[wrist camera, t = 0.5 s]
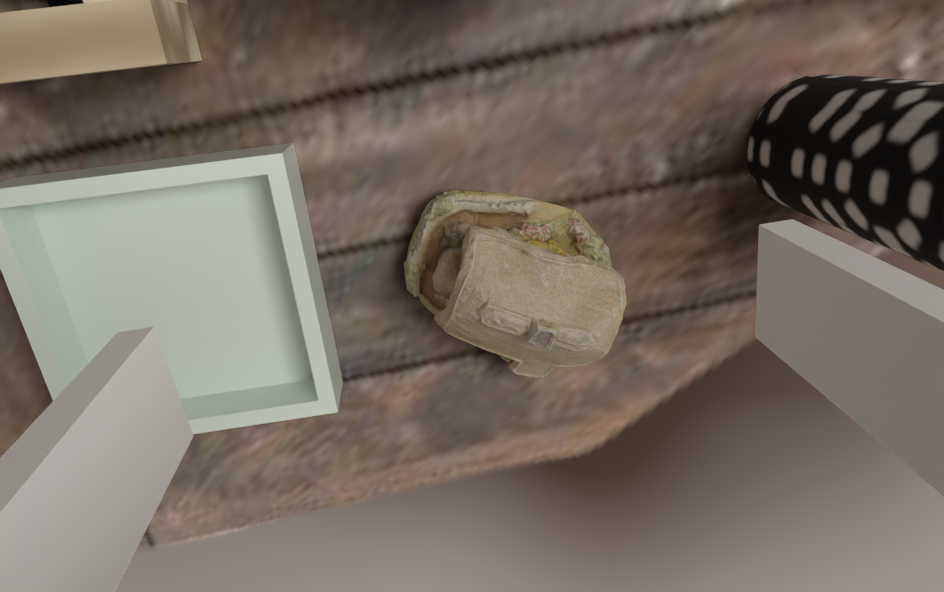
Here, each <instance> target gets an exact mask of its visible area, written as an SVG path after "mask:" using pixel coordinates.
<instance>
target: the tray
mask: <svg viewBox="0 0 944 592" xmlns="http://www.w3.org/2000/svg"><path fill="white" fill-rule="evenodd" d="M0 269H1V271H2V274H3V276H4V279H5V281H6V284H7V286H8V289H9V292H10V294H11V297H12V299H13V302H14V304H15V307H16V309H17V312H18V314H19V317H20V319H21V322H22V324H23V327H24V329H25V332H26V334H27V337H28V339H29V342H30V344H31V347H32V349H33V352H34V354H35V357H36V360H37V362H38V365H39V367H40V370H41V372H42V375H43V377H44V380H45V382H46V385H47V387H48V390H49V392H50V395H51V397H52V400H53V401H54V400H55V399H56V398H57V396H58V395H59V394H60V393H61V392H62V391H63V390H64V389H65V388H66V387H67V386H68V385H69V384H70V383H71V381H72V380H73V379H74V378H75V377H76V376H77V375H78V374H79V373H80V372H81V371H82V370H83V369H84V368H85V366H86V365H87V364H88V363H89V362H90V361H91V360H92V359H93V358H94V357H95V356H96V355H97V354H98V353H99V351H100V350H101V349H102V348H103V347H104V346H105V345H106V344H107V343H108V342H109V341H110V340H111V339H112V338H113V336H114V335H115V334H116V333H118V332H124V331H130V330H136V329H142V328H148V327H154V328H155V330H156V333H157V336H158V339H159V342H160V344H161V347H162V350H163V353H164V355H165V358H166V361H167V364H168V367H169V369H170V372H171V375H172V378H173V380H174V383H175V386H176V389H177V392H178V394H179V397H180V400H181V403H182V405H183V408H184V411H185V414H186V417H187V419H188V422H189V425H190V428H191V430H192V433H193V434H197V433H204V432H211V431H217V430H224V429H231V428H237V427H244V426H250V425H257V424H264V423H270V422H277V421H284V420H290V419H297V418H304V417H310V416H317V415H323V414H330V413H337V412H338V409H339V402H340V396H341V390H342V384H343V380H342V375H341V370H340V365H339V361H338V356H337V351H336V346H335V341H334V336H333V332H332V327H331V322H330V317H329V312H328V307H327V303H326V298H325V293H324V288H323V283H322V278H321V274H320V269H319V264H318V259H317V254H316V249H315V245H314V240H313V235H312V230H311V225H310V220H309V216H308V211H307V206H306V201H305V196H304V191H303V187H302V182H301V177H300V172H299V167H298V162H297V158H296V153H295V148H294V143H286V144H279V145H271V146H263V147H255V148H247V149H239V150H231V151H223V152H215V153H207V154H199V155H191V156H183V157H175V158H167V159H159V160H151V161H143V162H135V163H127V164H119V165H111V166H103V167H95V168H88V169H80V170H72V171H64V172H56V173H48V174H40V175H32V176H24V177H16V178H11V179H8V180H5V181H2V182H0Z"/></svg>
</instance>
